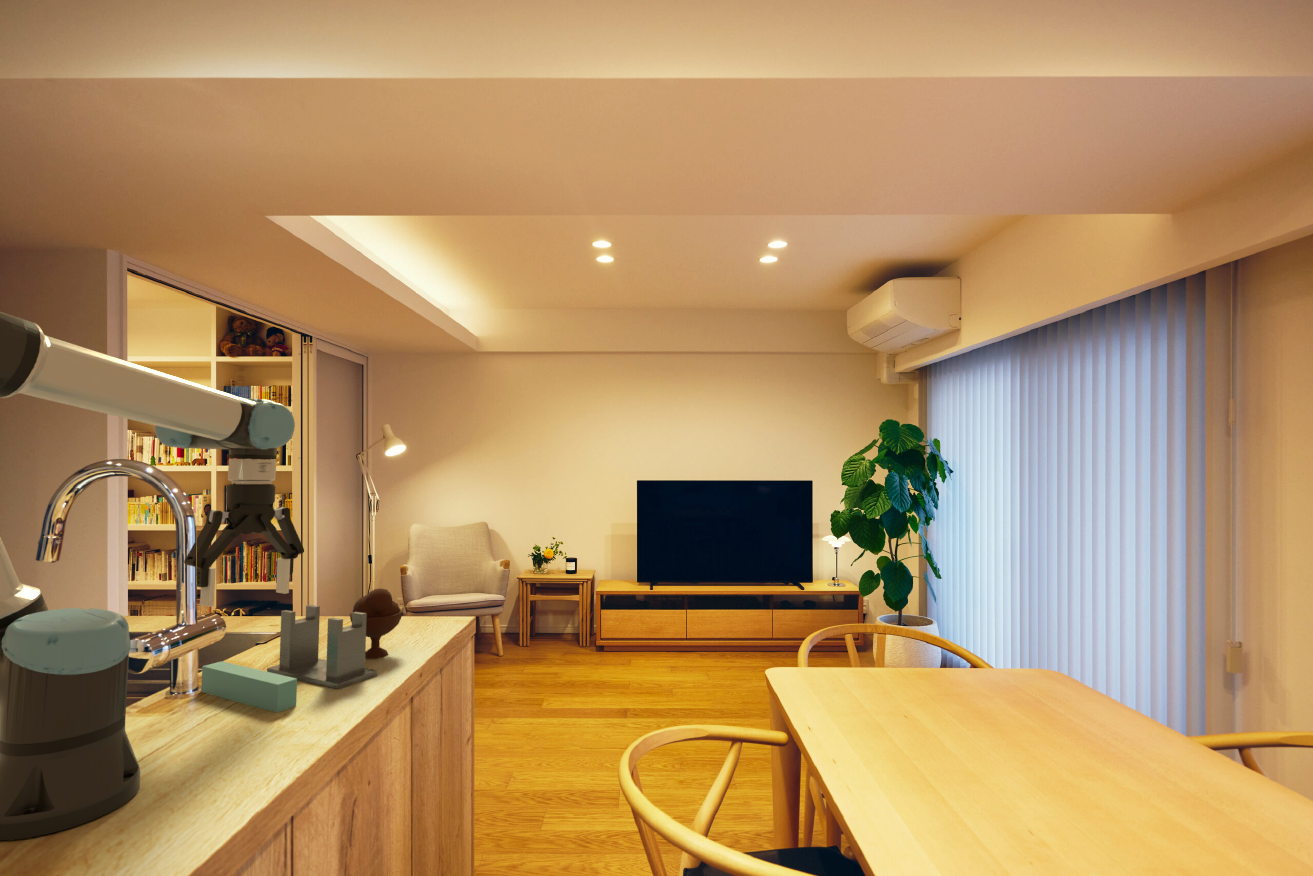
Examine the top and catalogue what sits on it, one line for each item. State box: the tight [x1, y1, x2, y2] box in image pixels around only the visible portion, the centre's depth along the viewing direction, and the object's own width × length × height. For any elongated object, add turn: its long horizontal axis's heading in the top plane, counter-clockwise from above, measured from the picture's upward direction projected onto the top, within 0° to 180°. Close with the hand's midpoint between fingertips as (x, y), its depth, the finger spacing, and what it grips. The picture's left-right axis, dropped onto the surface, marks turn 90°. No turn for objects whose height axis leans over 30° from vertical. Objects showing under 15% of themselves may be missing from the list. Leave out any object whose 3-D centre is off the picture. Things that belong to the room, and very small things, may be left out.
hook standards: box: [266, 604, 378, 690], centre depth 130 cm, size 9×21×12 cm, turn 65°
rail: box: [200, 660, 298, 713], centre depth 116 cm, size 22×4×5 cm, turn 65°
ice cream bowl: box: [349, 588, 403, 660], centre depth 143 cm, size 11×11×15 cm
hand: (246, 599), depth 116 cm, fingers open, 13 cm apart
